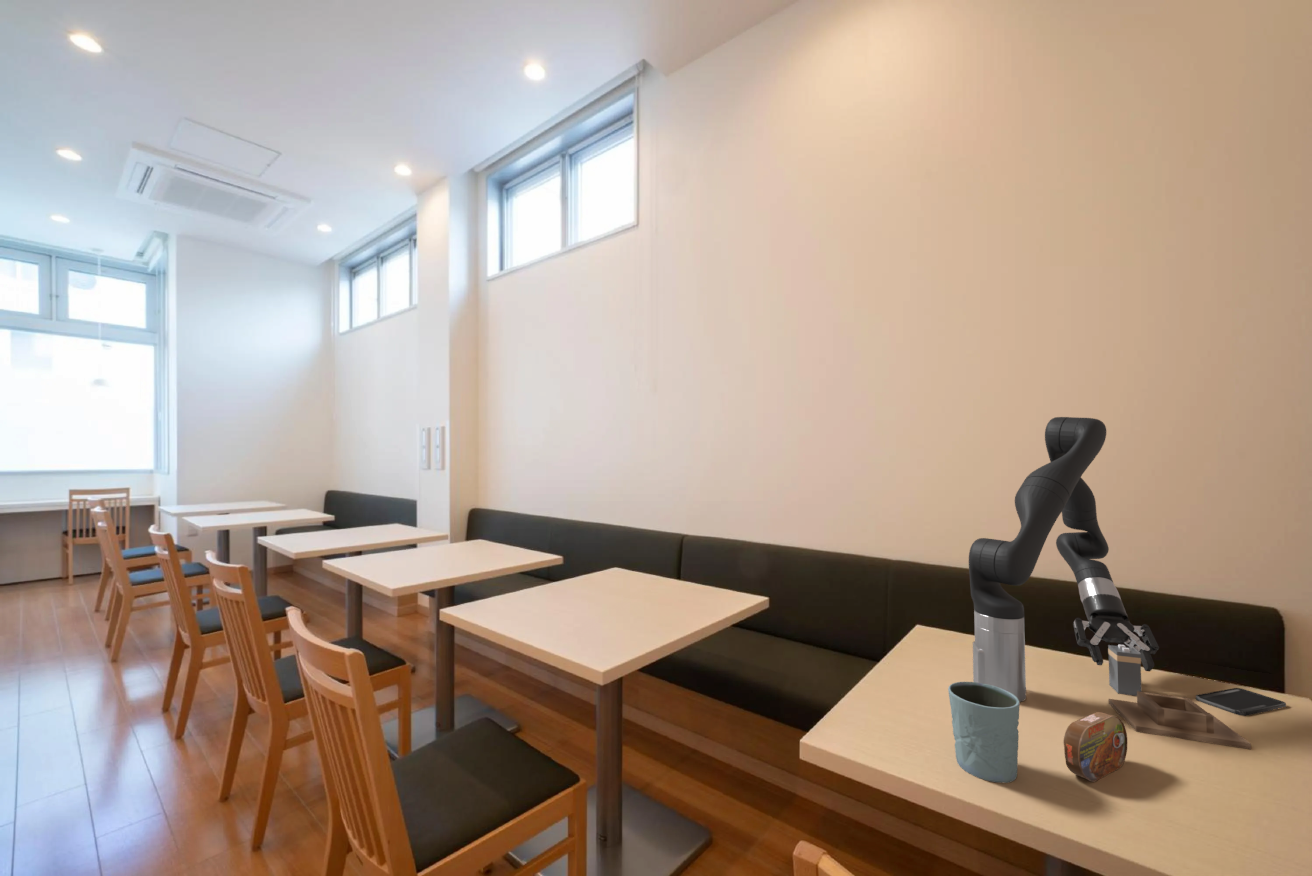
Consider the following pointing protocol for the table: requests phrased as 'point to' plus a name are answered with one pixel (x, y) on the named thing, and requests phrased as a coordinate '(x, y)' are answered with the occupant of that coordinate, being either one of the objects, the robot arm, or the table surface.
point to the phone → (1240, 701)
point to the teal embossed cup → (985, 730)
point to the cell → (1124, 669)
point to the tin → (1095, 745)
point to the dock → (1176, 719)
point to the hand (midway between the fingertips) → (1124, 666)
